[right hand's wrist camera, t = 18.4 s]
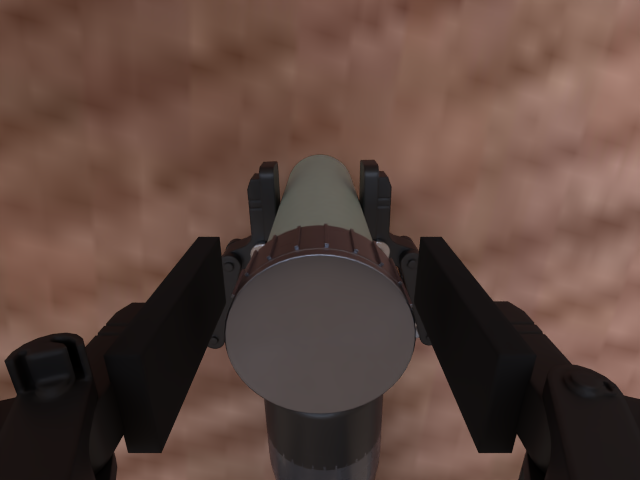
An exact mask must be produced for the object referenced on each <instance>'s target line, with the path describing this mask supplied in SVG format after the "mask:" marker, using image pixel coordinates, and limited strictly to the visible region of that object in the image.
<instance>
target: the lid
mask: <svg viewBox="0 0 640 480" xmlns="http://www.w3.org/2000/svg"><path fill="white" fill-rule="evenodd" d="M231 298H233V300H232V303H231V305H230V308H229V310H228V313H227V316H226V318H225V330H224V333H225V345H226V349H227V353H228V356H229V359H230V361H231V364H232V365H233V367H234V369H235V371H236V372H237V374H238V375H239V376H240V378H241V379H242V380H243V381H244V382H245V384H246V385H247V386H248V387H249V388H251V389H252V390H253V391H254V392H255V393H257V394H258V395H260V396H261V397H263V398H264V399H266V400H268V401H270V402H272V403H274V404H276V405H278V406H281V407H284V408H286V409H290V410H294V411H298V412H305V413H317V414H324V413H336V412H342V411H346V410H350V409H354V408H357V407H359V406H362V405H365V404H367V403H369V402H371V401H373V400H375V399H376V398H378V397H379V396H381V395H382V394H384V393H385V392H386V391H387V390H388V389H390V388H391V387H392V386H393V385H394V384H395V383H396V382H397V381H398V380H399V378H400V377H401V376H402V374H403V373H404V371H405V370H406V368H407V366H408V364H409V362H410V360H411V357H412V354H413V351H414V346H415V341H416V326H415V319H414V316H413V312H412V309H411V308H412V307H413V305H412V302H411V300H410V297H409V295H408V293H407V290H406V288H405V286H404V283H403V281H402V279H401V278H400V276H399V274H398V271H397V269H396V266H395V264H394V262H393V259H392V258H388V257H387V255H386V254H385V253H384V252H383V251H382V250H381V249H380V248H379V247H378V246H377V243H376V242H375V241H374V240H373V241H370V240H369V239H367V238H366V237H364V236H362V235H360V234H358V233H356V232H354V229H351V228H350V230H348V229H344V228H341V227H335V226H328V224H325V223H324V225H314V226H305V227H301V225H300V226H297V228H296V229H293V230H290V231H287V232H284V233H282V234H280V235H278V236H277V235H274V236H273V238H272V240H270V241H269V242H267V243H266V244H265V245H264V246H262V247H261V248H260V249H259V250H258V251H257V250H255V251H254V252H253V255H252V257H251V260H250V262H249V263H248V265H247V267H246V269H245V270H244V269H242V271H241V273H240V276H239V278H238V280H237V283H236V285H235V287H234V290H233V292H232V295H231Z"/></svg>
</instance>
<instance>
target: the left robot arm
mask: <svg viewBox="0 0 640 480" xmlns="http://www.w3.org/2000/svg"><path fill="white" fill-rule="evenodd" d="M247 191H248V200H249V212H250V223H251V233H252V235H251V236H249V237H247V238H244V239H242V240H241V239H233V240H231V241H230V242H229V244H228V245H227V247H226V251H225V252H224V254H223V255H222V266H223V276H224V285H225V295H226V305H225V307H224V309H223V311H222V314H221V316H220V318H219V321H218V323H217V325H216V328H215V330H214V332H213V335H212V337H211V339H210V342H209V344H208V347H210V348H213V349H217V348H220V347H222V346H223V344H224V342H225V333H224V330H225V318H226V316H227V313H228V310H229V308H230V305H231V303H232V300H233V298H231V295H232V292H233V290H234V287H235V285H236V283H237V280H238V278H239V276H240V273H241V271H242V269H246V267H247V265H248V263H249V262H250V260H251V257H252V255H253V252H254V251H255V250H257V251H258V250H259V249H260V248H261V247H262V246H264V245H265V244H266V243H267V241H268V238H269V235H270V232H271V229H272V227H273V224H274V221H275V218H276V215H277V212H278V209H279V206H280V190H279V174H278V163H277V162H263V163H262V165H261V166H260V169H259V173H255V174H254V175H253V177H252V178H251V180H250V183H249V186H248V189H247ZM359 202H360V205H361V208H362V211H363V214H364V217H365V220H366V223H367V226H368V229H369V232H370V235H371V238H372V241H373V240H374V241H375V242H376V243H377V246H378V247H379V248H380V249H381V250H382V251H383V252H384V253H385V254H386V255H387V257H388V258H392V259H393V262H394V264H395V266H397V267H398V270H399V273H400V277H401V279H402V281H403V283H404V286H405V288H406V290H407V293H408V295H409V297H410V300H411V302H412V305H413V307H412V308H411V309H412V312H413V316H414V319H415V326H416V338H419V337H420V340H421V342H422V343H423V344H425V345H432V344H431V342H430V339H429V337H428V335H427V332H426V330H425V328H424V325H423V323H422V321H421V318H420V316H419V314H418V311H417V309H416V307H415V305H414V295H415V285H416V276H417V266H418V256H419V251H418V249H417V248H416V246H415V244H414V243H413V241H412V239H411V238H409V237H407V236H400V237H399V236H396V235H393V234H391V233H390V232H389V225H390V205H391V184H390V182H389V179H388V177H387V175H386V174H385V173H384V171H379V168H378V164H377V163H376V161H375V160H361V162H360V197H359ZM264 401H265V411H266V422H267V433H268V443H269V453H270V459H271V465H272V468H273V472H274V475H275V478H276V480H375V475H376V471H377V467H378V462H379V456H380V442H381V423H382V402H383V394H382V395H381V396H379V397H378V398H376V399H375V400H373V401H371V402H369V403H367V404H365V405H362V406H359V407H357V408H354V409H350V410H346V411H342V412H336V413H324V414H317V413H305V412H298V411H294V410H290V409H286V408H284V407H281V406H278V405H276V404H274V403H272V402H270V401H268V400H266V399H264Z"/></svg>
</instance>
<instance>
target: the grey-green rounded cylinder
mask: <svg viewBox="0 0 640 480" xmlns="http://www.w3.org/2000/svg"><path fill="white" fill-rule="evenodd" d="M324 223H325V224H328V226H335V227H341V228H344V229H348V230H350V228H351V229H354V232H356V233H358V234H360V235H362V236H364V237H366V238H367V239H369V240H370V241H372V238H371V235H370V232H369V229H368V226H367V223H366V220H365V217H364V214H363V211H362V208H361V205H360V202H359V200H358V197H357V194H356V191H355V188H354V185H353V182H352V179H351V176H350V174H349V172H348V170H347V168H346V167H345V166H344V165H343V164H342V163H341V162H340V161H339V160H337V159H335V158H333V157H331V156H327V155H313V156H309V157H307V158H305V159H303V160H301V161H300V162H299V163H298V164H297V165H296V166H295V167H294V168H293V170H292V172H291V174H290V176H289V179H288V182H287V185H286V188H285V191H284V194H283V197H282V200H281V203H280V206H279V209H278V212H277V215H276V218H275V221H274V224H273V227H272V229H271V232H270V235H269V238H268V241H267V242H269V241H270V240H272V238H273V236H274V235H277V236H278V235H280V234H282V233H284V232H287V231H290V230H293V229H296V228H297V226H300V225H301V227H305V226H314V225H324Z"/></svg>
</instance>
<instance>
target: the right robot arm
mask: <svg viewBox="0 0 640 480" xmlns="http://www.w3.org/2000/svg"><path fill="white" fill-rule="evenodd" d="M225 305H226V295H225V285H224V276H223V266H222V256H221V247H220V237H198V238H197V239H196V241H195V242H194V243H193V244H192V246H191V247H190V248H189V249H188V251H187V252H186V253H185V254H184V256H183V257H182V258H181V259H180V261H179V262H178V263H177V264H176V266H175V267H174V268H173V269H172V270H171V272H170V273H169V274H168V275H167V277H166V278H165V279H164V280H163V282H162V283H161V284H160V285H159V287H158V288H157V289H156V290H155V292H154V293H153V294H152V295H151V297H150V298H149V299H148V300H147V302H146V303H131V304H129V305H128V306H126V307H124V308H123V309H121V310H120V311H118V312H116V313H115V315H114V316H113V317H112V318H111V319H110V320H109V321H108V322H107V323H106V326H104V327H103V328H102V329H101V330H100V331H99V332H98V335H97V336H95V337H94V338H93V339H92V340H91V341H90V342H89V344H88V345H87V346H86V347H85V345H84V341H83V338H81V337H80V336H78V335H77V334H71V333H59V334H51V335H48V336H44V337H40V338H37V339H35V340H33V341H30V342H28V343H26V344H24V345H22V346H21V347H19V348H18V349H16V350H15V351H13V352H12V353H11V354H10V355H9V356H8V357H7V359H6V360H5V364H6V366H7V369H8V372H9V374H10V377H11V380H12V382H13V385H14V388H15V390H16V393H17V396H16V397H15V398H11V399H7V400H2V401H0V480H116V473H117V463H116V457H115V454H114V451H115V449H116V447H117V445H118V444H119V442H120V440H121V438H122V437H123V435H124V438H125V442H126V446H127V450H128V453H162V450H163V448H164V446H165V443H166V441H167V439H168V437H169V434H170V432H171V430H172V427H173V425H174V423H175V420H176V418H177V416H178V413H179V411H180V409H181V406H182V404H183V402H184V399H185V397H186V395H187V393H188V390H189V388H190V386H191V383H192V381H193V379H194V376H195V374H196V372H197V369H198V367H199V365H200V362H201V360H202V358H203V355H204V353H205V351H206V349H207V346H208V344H209V342H210V339H211V337H212V335H213V332H214V330H215V328H216V325H217V323H218V321H219V318H220V316H221V314H222V311H223V309H224V307H225ZM414 305H415V307H416V309H417V311H418V314H419V316H420V318H421V321H422V323H423V325H424V328H425V330H426V332H427V335H428V337H429V339H430V342H431V344H432V346H433V349H434V351H435V353H436V355H437V358H438V360H439V362H440V365H441V367H442V369H443V372H444V374H445V376H446V379H447V381H448V383H449V386H450V388H451V390H452V393H453V395H454V397H455V399H456V402H457V404H458V406H459V409H460V411H461V413H462V416H463V418H464V420H465V423H466V425H467V427H468V430H469V432H470V434H471V437H472V439H473V441H474V443H475V446H476V448H477V450H478V453H512V450H513V446H514V442H515V438H516V434H517V435H518V436H519V438H520V440H521V442H522V443H523V445H524V447H525V449H526V454H525V457H524V461H523V465H522V468H521V472H520V475H519V479H518V480H640V399H637V398H632V397H628V396H624V395H623V394H622V392H621V391H620V390H619V388H618V387H617V386H616V385H615V384H614V383H613V382H612V381H610V380H609V379H608V378H606V377H605V376H603V375H601V374H599V373H597V372H595V371H593V370H591V369H588V368H585V367H581V366H578V365H572V364H571V363H570V362H569V361H568V359H567V358H566V357H565V356H564V355H563V354H562V353H561V352H560V351H559V349H558V348H557V347H556V346H555V345H554V344H553V343H552V342H551V341H550V340H549V338H548V337H547V336H546V335H545V334H543V332H542V331H541V330H540V328H539V327H538V326H537V325H534V322H533V321H532V320H531V318H530V317H529V316H528V315H527V314H526V313H525V312H524V311H523V310H521V309H520V308H518V307H516V306H515V305H513V304H511V303H510V302H508V301H506V302H504V301H503V302H501V301H499V302H497V301H496V302H494V301H493V300H492V299H491V298H490V297H489V295H488V294H487V293H486V292H485V290H484V289H483V288H482V287H481V285H480V284H479V283H478V282H477V280H476V279H475V278H474V277H473V275H472V274H471V273H470V272H469V270H468V269H467V268H466V267H465V266H464V264H463V263H462V262H461V261H460V259H459V258H458V257H457V256H456V254H455V253H454V252H453V251H452V249H451V248H450V247H449V246H448V244H447V243H446V242H445V241H444V239H443V238H442V237H420V247H419V256H418V266H417V276H416V285H415V295H414Z"/></svg>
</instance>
